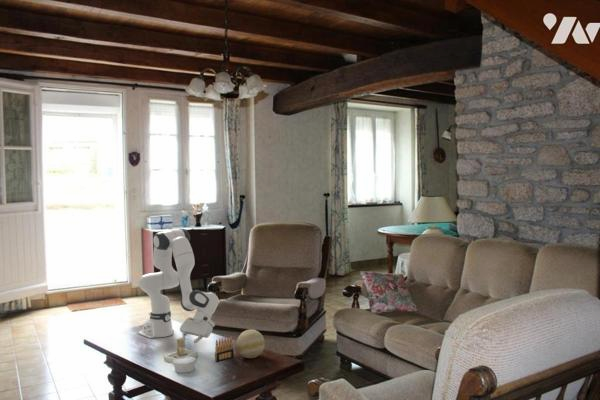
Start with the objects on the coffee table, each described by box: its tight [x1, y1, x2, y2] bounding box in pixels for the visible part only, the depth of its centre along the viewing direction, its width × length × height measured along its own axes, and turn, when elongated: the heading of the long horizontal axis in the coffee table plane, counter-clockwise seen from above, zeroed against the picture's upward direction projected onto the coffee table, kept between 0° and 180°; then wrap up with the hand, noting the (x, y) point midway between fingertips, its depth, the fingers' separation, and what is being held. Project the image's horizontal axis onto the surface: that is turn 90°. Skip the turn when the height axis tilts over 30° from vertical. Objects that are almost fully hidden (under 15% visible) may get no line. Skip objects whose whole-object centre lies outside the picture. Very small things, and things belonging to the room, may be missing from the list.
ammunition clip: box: [214, 336, 235, 364], centre depth 272 cm, size 11×2×12 cm, turn 130°
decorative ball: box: [236, 328, 266, 359], centre depth 275 cm, size 15×15×15 cm
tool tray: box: [163, 348, 199, 364], centre depth 276 cm, size 11×15×2 cm
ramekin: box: [172, 356, 197, 374], centre depth 259 cm, size 11×11×5 cm
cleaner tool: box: [174, 337, 188, 358], centre depth 276 cm, size 3×7×10 cm, turn 147°
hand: (188, 341), depth 281 cm, fingers open, 8 cm apart
